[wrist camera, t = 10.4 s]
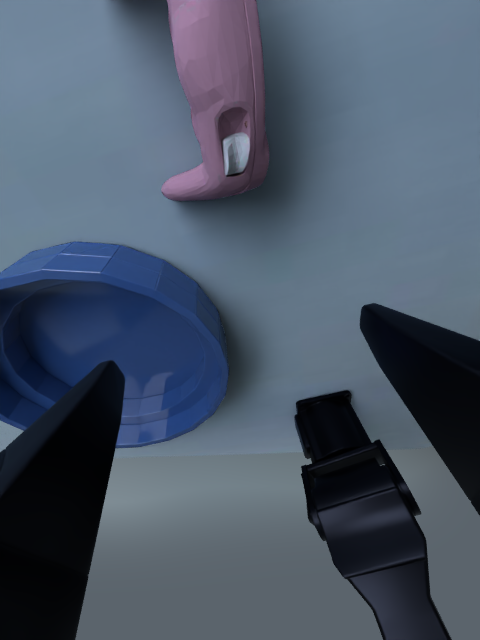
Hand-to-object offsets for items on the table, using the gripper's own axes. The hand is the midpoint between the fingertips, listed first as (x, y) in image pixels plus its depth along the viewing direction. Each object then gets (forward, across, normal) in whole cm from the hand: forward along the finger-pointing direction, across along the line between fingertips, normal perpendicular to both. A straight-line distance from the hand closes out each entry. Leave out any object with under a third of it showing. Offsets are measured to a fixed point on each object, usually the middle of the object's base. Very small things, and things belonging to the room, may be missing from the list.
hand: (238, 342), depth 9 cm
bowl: (+11, +11, +7) cm, 17 cm away
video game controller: (+11, 0, -8) cm, 14 cm away
